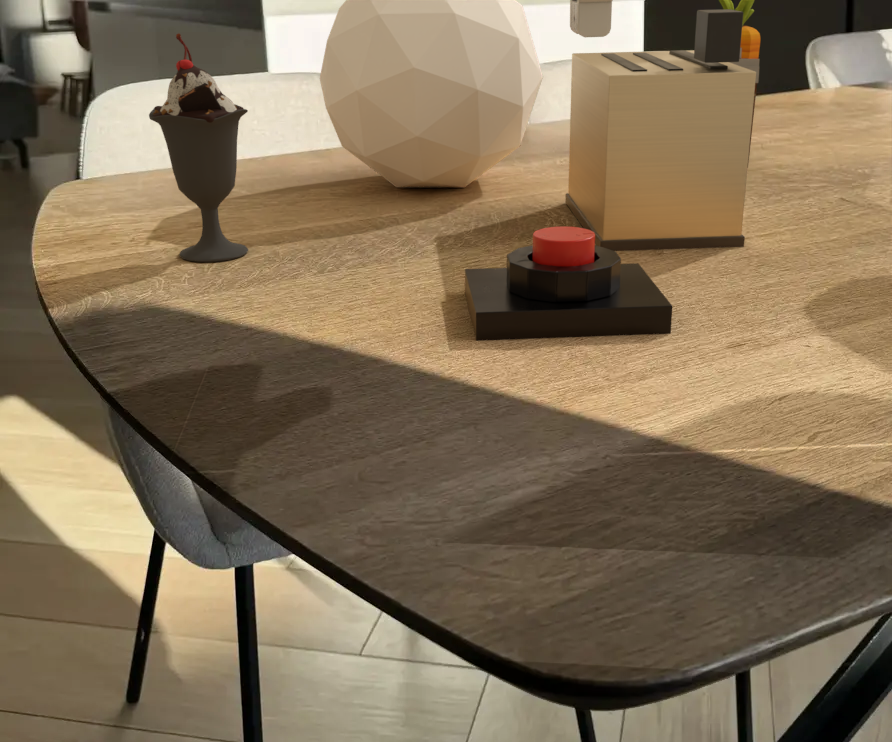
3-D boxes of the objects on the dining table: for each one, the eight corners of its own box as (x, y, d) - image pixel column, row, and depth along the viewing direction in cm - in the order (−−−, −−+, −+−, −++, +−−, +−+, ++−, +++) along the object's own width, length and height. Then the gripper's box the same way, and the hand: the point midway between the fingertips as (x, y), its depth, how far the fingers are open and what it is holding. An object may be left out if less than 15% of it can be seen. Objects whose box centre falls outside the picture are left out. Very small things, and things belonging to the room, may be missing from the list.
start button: (588, 254, 67) (589, 225, 66) (599, 270, 64) (600, 240, 63) (528, 256, 67) (529, 227, 66) (536, 272, 64) (536, 242, 63)
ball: (397, 268, 102) (251, 97, 91) (422, 153, 116) (298, -8, 105) (578, 173, 93) (440, -29, 82) (582, 60, 107) (464, -126, 96)
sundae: (199, 239, 85) (175, 30, 79) (276, 245, 83) (258, 31, 77) (148, 261, 80) (118, 38, 73) (229, 268, 77) (205, 39, 71)
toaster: (686, 199, 95) (697, 47, 90) (744, 247, 80) (760, 68, 75) (565, 202, 94) (569, 50, 89) (600, 252, 79) (607, 72, 74)
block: (637, 289, 71) (640, 234, 70) (670, 334, 63) (674, 274, 61) (464, 295, 71) (464, 240, 69) (476, 341, 62) (475, 280, 61)
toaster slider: (727, 57, 79) (731, 9, 77) (739, 62, 76) (743, 11, 75) (693, 58, 79) (696, 10, 77) (704, 62, 76) (708, 12, 75)
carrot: (702, 137, 123) (712, -10, 117) (710, 130, 127) (721, -12, 121) (747, 139, 121) (761, -10, 115) (755, 132, 125) (768, -12, 119)
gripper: (715, -298, 47) (694, 50, 53) (618, -232, 65) (611, 20, 71) (566, -294, 46) (561, 55, 52) (511, -229, 65) (512, 24, 71)
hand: (589, 35), depth 62 cm, fingers closed
